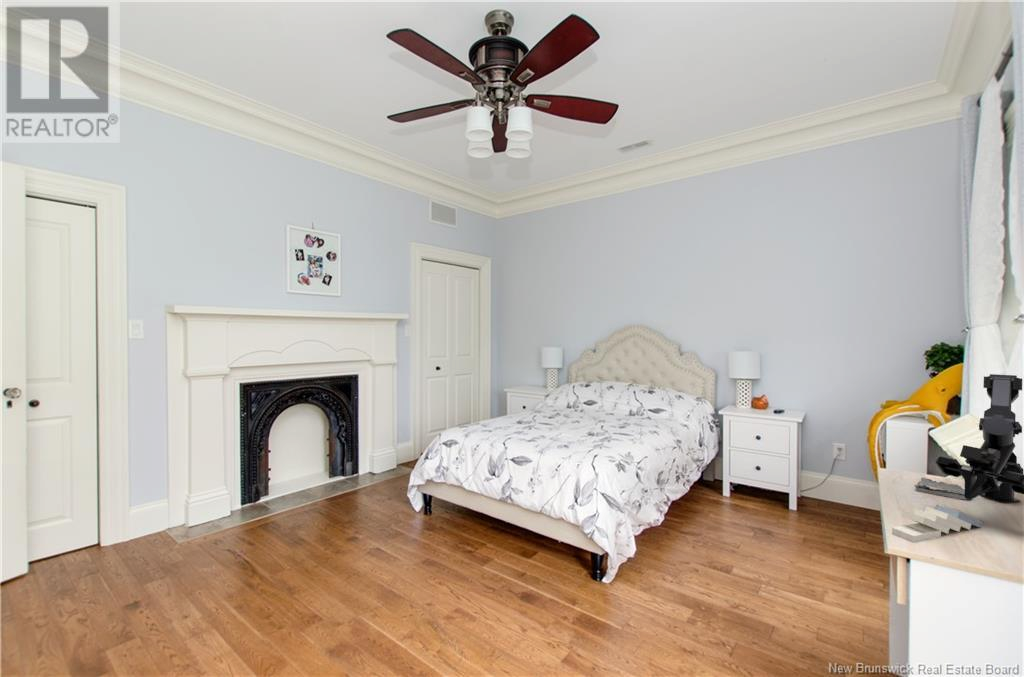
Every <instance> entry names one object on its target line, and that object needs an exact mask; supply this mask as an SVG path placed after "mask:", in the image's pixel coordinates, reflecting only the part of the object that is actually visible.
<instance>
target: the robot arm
mask: <svg viewBox="0 0 1024 677" xmlns="http://www.w3.org/2000/svg"><path fill="white" fill-rule="evenodd" d="M983 388H984V389H986V394H987V396H988V397H989V399H990V408H987V409H986V410H984V412H983V417H980V419H979V423H978V430H979V431H981V432H982V438H983V442H982V445H980V447H979V448H978V447H975V446H970V445H962V448H961V451H960V456H959V457H960V458H964V459H965V460H964V462H965V463H966V464H963V463H962V464H960V462H959V461H958V459H956V458H952V457H949V456H944V455H940V456H937V458H936V460H935V464H936V466H937V467H938V468H939V470H940V471H941V472H942V473H943V474H944V475H947V476H950V477H954V478H959V477H962V478H963V480H964V489H965V494H964V493H963V494H964V496H965V498H966V499H968V500H969V501H971V500H973V499H975V498H977V497H979V496H980V497H983V498H986V499H989V500H993V501H996V502H998V503H1004V504H1006V503H1007V504H1009V503H1019V502H1021V500H1020V499H1018V498H1016V497H1015V493H1017V494H1021V495H1024V468H1023V467H1022V466H1021V463H1018V460H1017V459H1018V458H1017V455H1016V454H1015V452H1014V449H1015V447H1016V444H1015V442H1014V438H1016V436H1017V435H1019V434H1022V433H1023V426H1022V424H1020V421H1016V417H1017V416H1016V413H1015V412H1013V410H1012V404H1013V403H1014V402H1015V401H1016V400H1017V399H1019V396H1020V395H1019V394H1020V393H1019V392H1021V391H1023V378H1021V377H1020V378H1019V377H1018V376H1017V375H1012V374H995V373H993V374H992V373H991V374H990V373H989V375H987V376H983ZM968 500H967V501H968Z"/></svg>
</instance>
